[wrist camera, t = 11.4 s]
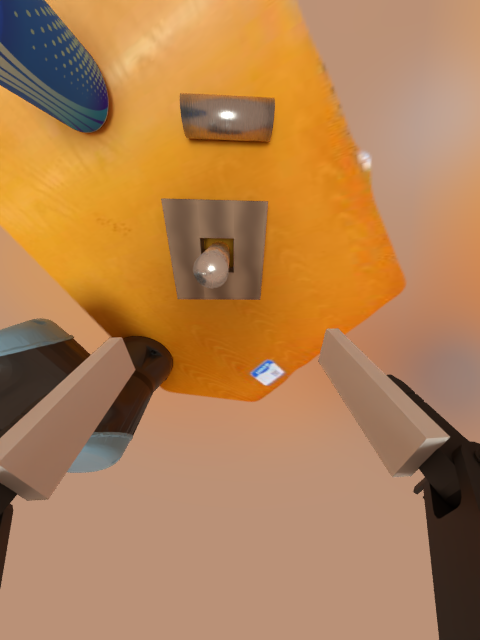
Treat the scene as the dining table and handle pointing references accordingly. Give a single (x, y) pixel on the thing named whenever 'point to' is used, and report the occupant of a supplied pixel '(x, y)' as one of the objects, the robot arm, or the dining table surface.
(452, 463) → the robot arm
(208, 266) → the peg
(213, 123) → the lying peg
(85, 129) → the beer can
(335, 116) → the dining table surface
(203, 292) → the socket block
